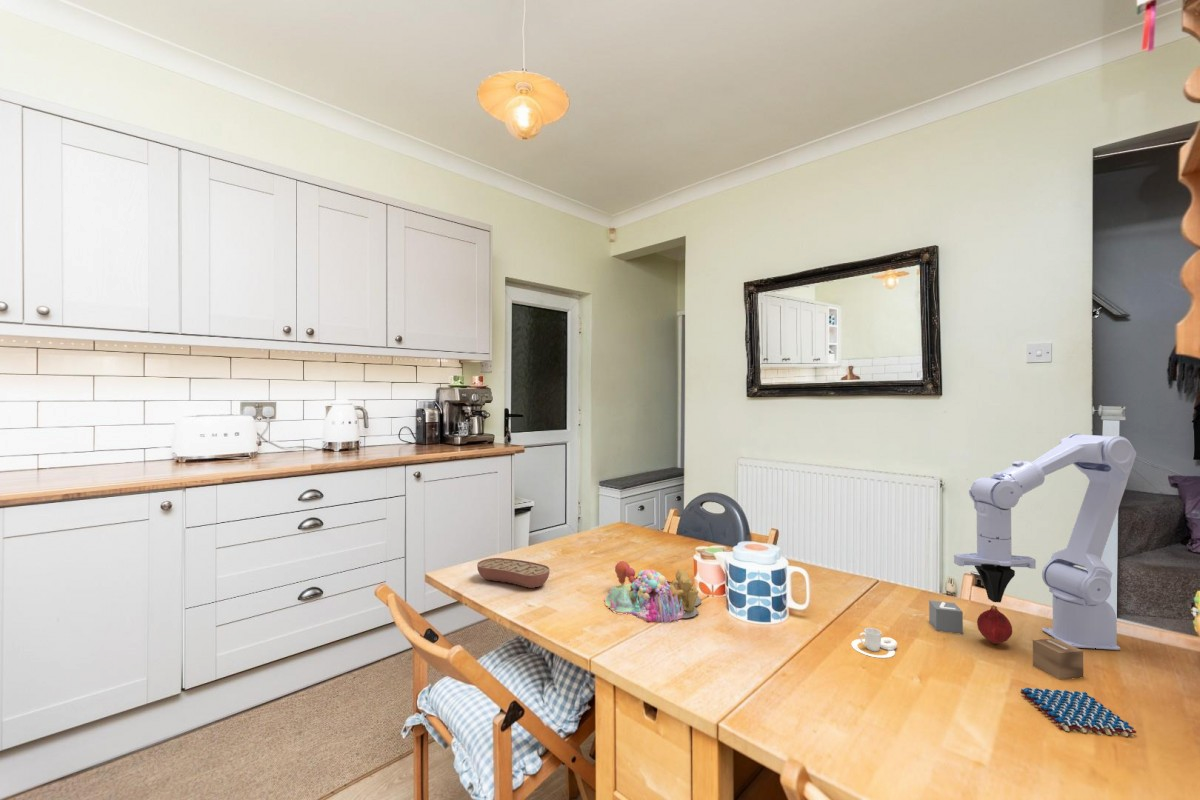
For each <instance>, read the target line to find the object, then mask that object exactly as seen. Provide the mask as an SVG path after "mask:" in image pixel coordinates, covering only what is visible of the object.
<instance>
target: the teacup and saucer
mask: <svg viewBox="0 0 1200 800" xmlns="http://www.w3.org/2000/svg"><path fill="white" fill-rule="evenodd" d="M863 635H864V638H862V636H863ZM858 637H859V638H856V639H854V640H852V641H851V645H850V646H851V647H852V648H853V649H854V650H855V651H856V652H858V653H860V654H861V655H864V656H868V657H872V658H878V659H888V658H891V657H894V656H895V654H896V651H895V650H896V649H897V648H898V642H897V640H895V639H893V638H892V637H889V636H888V637H885V636H884V637H882V631H881V630H879V629H877V628H874V627H865V628H864V630H863V631H862V632H860V633H859V635H858ZM859 644H863V646H865V648H867V650H869V651H872V652H878V651H879V650H880V648H881V649H882V650H885V651H887V653H886V654H882V655H879V654H872V653H868V652H865V651H864V650H862V649H860V648H859V647H858V645H859Z"/></svg>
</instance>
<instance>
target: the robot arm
mask: <svg viewBox="0 0 1200 800" xmlns="http://www.w3.org/2000/svg"><path fill="white" fill-rule="evenodd" d="M1136 457H1137V451H1136V450H1135V448H1134V446H1133V445H1132V443H1131V441H1130V440H1129V439H1127V438H1126V437H1125V436H1120V435H1117V436H1116V435H1115V436H1114V435H1113V436H1108V435H1098V434H1097V435H1094V434H1082V433H1072V434H1069V435H1068V436H1066V437H1063V438H1061V439H1060V441H1059V444H1057V445H1056V446H1055V447H1053V448H1051V449H1050V450H1048V451H1047V452H1045V453H1044V454H1042V455H1040V456H1039V457H1038V458H1036V459H1034V460H1033V461H1027V460H1015V461H1013V462H1012V463H1011V464H1012V465H1011V466H1008V467H1007V468H1005V469H1003V470H1000V471H996V472H994V473H993V475H992V476H991V477H984V476H983V477H980V478H978V479H976V480H975V481H974V482H973V483H972V485H971V487H970V489H968V494H969V497H970V499H971V500H972V501H973V507H974V509H975V511H976V552H972V553H971V552H970V553H961V554H960V553H959V554H958V553H954V554H953V563H954V564H955V565H957V566H958V567H964V566H974V568H975V569H976V571H977V573H978V574H979V576H980V579H981V580H982V583H983V586H984V588H985V591H986V595H987V599H988V600H989V601H991V602H993V603H1002V601H1003V600H1002V599H1003V598H1004V597H1003V596H1004V594H1005V591H1006V588H1007V586H1008V585H1009V583H1010V582H1011V580H1012V579H1014V577H1015V574H1016V571H1015V570H1014V569H1013V568H1027V569H1032V570H1033V569H1035V570H1036V567H1037V566H1036V565H1037V564H1036V558H1034V557H1031V556H1023V555H1016V554H1015V555H1013V554H1012V508H1014V507H1016V505H1017V504H1018V503H1019V502H1020V501H1019V500H1020V498H1021V497H1023V495H1024V494H1027V493H1028V492H1031V491H1032V490H1034V489H1036V488H1038V487H1040V486H1042V485H1043V484H1044V483H1045V477H1046V476H1048V475H1050V474H1052V473H1054V472H1057V471H1059V470H1062V469H1063V468H1066V467H1067V466H1071V465H1073V466H1075V467H1076V469H1078V470H1079V471H1080V472H1081V473H1082V474H1084V475H1086V477H1087V479H1088V480H1089V483H1088V485H1087V488H1086V492H1085V494H1084V497H1083V500H1082V503H1081V505H1080V509H1079V512H1078V514H1077V517H1076V520H1075V523H1074V525H1073V528H1072V532H1071V534H1070V537H1069V540H1068V544H1067V546H1066V548H1064V549H1061V550H1057V551H1055V552H1053V553H1052V555H1051V557H1050V559H1049V561H1048V562H1047V563H1046V564H1045V565H1044V566H1043V569H1042V572H1041V578H1042V581H1043V583H1044V585H1045V586H1047V587H1048V591H1049V592H1050V593H1051V594H1052V627H1051V628H1050V627H1042V628H1041V630H1042V631H1043V632H1044V633H1046V634H1048V635H1049V636H1051V638H1056V639H1058V640H1060V641H1062V642H1065V643H1067V644H1069V645H1071V646H1073V647H1075V648H1078V649H1081V648H1082V649H1095V648H1096V649H1099V650H1113V651H1115V650H1116V651H1120V650H1121V647H1120V646H1119V645H1118V643H1117V642H1118V636H1117V635H1118V633H1117V632H1118V630H1117V628H1118V626H1117V625H1118V624H1117V623H1118V620H1117V614H1116V612H1115V609H1114V608H1113V607H1112V605H1111V604H1110V603H1109V602H1108V601H1107V600H1108V599H1109V598H1110V595H1111V592H1112V587H1111V585H1112V584H1111V580H1112V575H1113V572H1112V571H1111V569H1110V568H1109V567H1108V566H1107V565H1106V564H1105V563H1104V562H1103V560H1102V558H1103V554H1104V551H1105V548H1106V545H1107V542H1108V540H1109V536H1110V534H1111V530H1112V527H1113V525H1114V521H1115V519H1116V516H1117V513H1118V511H1119V508H1120V505H1121V502H1122V498H1123V496H1124V494H1125V490H1126V488H1127V484H1128V479H1129V477H1130V474H1131V473H1132V472H1131V471H1132V469H1133V465H1134V462H1135V459H1136ZM1077 566H1078V567H1077ZM1081 567H1082V568H1081ZM1084 568H1085V569H1084Z"/></svg>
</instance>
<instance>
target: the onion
mask: <svg viewBox="0 0 1200 800" xmlns="http://www.w3.org/2000/svg"><path fill="white" fill-rule="evenodd" d="M976 624H977V629H978V631H979V632H980V635H982V636H983V637H984V638H985V639H986V640H987V641H988V642H990V643H991V644H993V645H999V644H1001V643H1005V642H1007V641H1008V640H1009V639H1010V638H1011V637H1012V635H1013V627H1012V623H1011V622H1010V620H1009V619H1008V617H1007V616H1006V615H1005V614H1004V613H1002V612H1001V611H999V609H998V607H997V606H996V605H994V604H993V605H991V606H990V609H988V610H987V609H986V610H985V611H983V612H981V613H980V614H979V616H978V618H977V621H976Z"/></svg>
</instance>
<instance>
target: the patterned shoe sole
mask: <svg viewBox="0 0 1200 800" xmlns="http://www.w3.org/2000/svg"><path fill="white" fill-rule="evenodd" d="M550 570H551V569H550V567H549V566H547V565H545V564H541V563H537V562H533V561H527V560H521V559H515V558H514V559H513V558H503V557H492V558H485V559H482V560H479V562H477V571H478V574H479V575H480V576H481V578H482V579H483V580H486V579H487V580H486V581H489V580H494V581H493V582H497V581H502V582H501V583H505V582H508V583H507V584H511V583H513V584H512V585H516V584H517V585H516V586H520V585H521V587H525V588H527V587H528V589H536V588H535V587H538V588H540V587H541V586H543V585H544V584H545V583H546V582H547V581H548V579H549V577H550ZM539 586H540V587H539Z"/></svg>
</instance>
